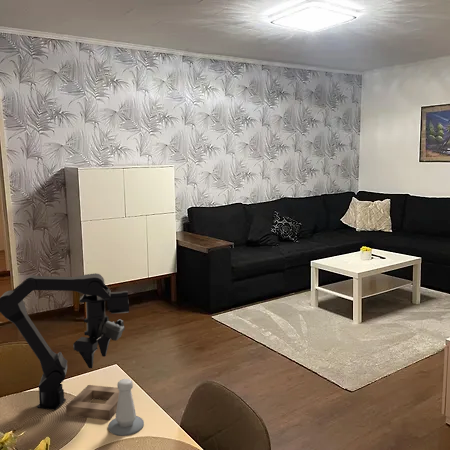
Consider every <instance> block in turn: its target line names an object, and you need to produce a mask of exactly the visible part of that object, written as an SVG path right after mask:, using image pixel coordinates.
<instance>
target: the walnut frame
mask: <svg viewBox="0 0 450 450" xmlns="http://www.w3.org/2000/svg"><path fill="white" fill-rule="evenodd" d="M118 397H119V390H118V387H114V386H112V387H111V386H103V385H94V384H88V385H87V386H86V387H85V388H83V389H82V390H81V391H80V392H79V393H78V394H77V395H76V396H75V397H74V398H73V399H72V400H70V402H68V403H67V404H66V405H65V411H66V412H65V414H66V416H70V417H77V418H78V417H79V418H85V419H86V418H88V419H97V420H105V421H111V420H112V419H113V417H114V416H116V410H117V403H118ZM93 400H96V401H97V400H99V401H106V402H105V403H96V402H92V401H93Z"/></svg>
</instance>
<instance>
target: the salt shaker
mask: <svg viewBox="0 0 450 450" xmlns="http://www.w3.org/2000/svg"><path fill="white" fill-rule="evenodd" d="M116 385H117V388H118V390H119V397H118V403H117V410H116V413H115V418H116V421H117V422H118V424H119V425H120V427H125V428H127V427H129V426H132V424H133V422H134V420H135V418H136V416H137V413H136V409H135V403H134V398H133V393H132V389H133V387H134V386H133V385H134V384H133V380H131V379H130V378H122V379H120V380H118V382H117V384H116Z"/></svg>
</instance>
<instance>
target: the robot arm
mask: <svg viewBox="0 0 450 450" xmlns="http://www.w3.org/2000/svg"><path fill="white" fill-rule="evenodd" d="M33 291H56V292H57V291H58V292H59V291H61V292H62V291H63V292H64V291H65V292H77V293H79V294H82V296H81V297H79V303H85V310H86V311H85V312H86V316H85V317H86V318H84V319H83V322H84V324H86V330H85V331H84V332H83V333H84V336H81V337H79V338H78V339H77V340H75V341H74V342H73V351H76V352H78V353H79V354H80V356H81V358H82V359H83V361H84V362H85V364H86V365H87V367H88V368H89V369H93V368H94V357H95V352H96V351H97V350H98V349H99V351H100V353H101V356H102V357H104V358H105V357H107V352H108V349H109V344H110V341H111V340H112V341H116V342H117V341H118V340H119V339H120V338H121V337H122V334H123V331H125V330H126V327H125V323H124V320H122V319H121V318H120V319H118V320H116V321H110V319H109V316H108V315H106V311H108V312H109V313H110V314H111V315H112V314H126V313H130V302H129V293H128V292H129V291H128V290H122V291H111V289H110V288H109V287H108V286H107V285H106V283H105V279H104V277H103V276H102V275H101V274H100V273H89V274H83V275H79V276H51V275H50V276H46V275H45V276H43V275H42V276H40V275H34V274H33V275H32V274H31V275H29V276H27V277H26V279H25V280H23V281H22V282H21V283H20V284H19V285H17V286H16V287H15V288H14V289H13V290H12V289H11V290H8V291H7V290H6V291H5V292H4V293H3V294H2V295H1V296H0V314H1V315H2V316H3V317H4V318H5V319H6V320H8V321H9V322H11V323H12V324H14V326H15V327H16V328H17V329H18V332H19V333H20V334H21V335H22V337H23V339H24V340H25V341H26V343H27V344H28V346H29V348H30V349H31V350H32V351H33V353H34V355H35V356H36V358H37V359H38V361H39V362H40V366H41V370H42V376H41V377H40V381H39V384H38V397H39V403H38V404H37V405H36V409H40V410H42V409H43V410H44V409H45V410H52V411H56V410H57V409H58V408H59V407H60V406H61V405H62V404H64V403H65V402H66V400H67V399H66V398H65V390H64V389H63V383H62V382H64V380H65V379H66V375H67V372H68V371H67V370H68V360H67V359H66V358H65V357H64V355H63V354H62V351H59V352H58V353H56V352H54V351H53V350H52V348H51V347H50V346H49V344H48V343H47V342H46V340H45V339H44V337H43V335H42V334H41V332H40V330H39V329H38V328H37V326H36V325H35V324H34V322H33V320H32V319H31V318H30V316H29V314H28V313H27V308H26V305H25V302H24V299H25V298H26V297H27V296H29V294H30V293H33ZM106 306H107V307H106ZM106 308H107V310H106Z"/></svg>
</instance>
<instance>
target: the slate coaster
mask: <svg viewBox="0 0 450 450" xmlns="http://www.w3.org/2000/svg"><path fill="white" fill-rule="evenodd" d="M144 423H145V422H144V419H143V418H142V417H140V416H138V415H136V418H135V420H134V422H133V424H132V426H129V427H127V428H125V427H120V425H119V424H118V422H117V421H116V417H115V418H112V419H111V420H110V422H109V423H108V431H109V433H110V434H112V435H115V436H118V437H120V436H121V437H125V436H132V435H134V434H137V433H139V432H140V431H141V430H143V428H144V427H145V424H144Z"/></svg>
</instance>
